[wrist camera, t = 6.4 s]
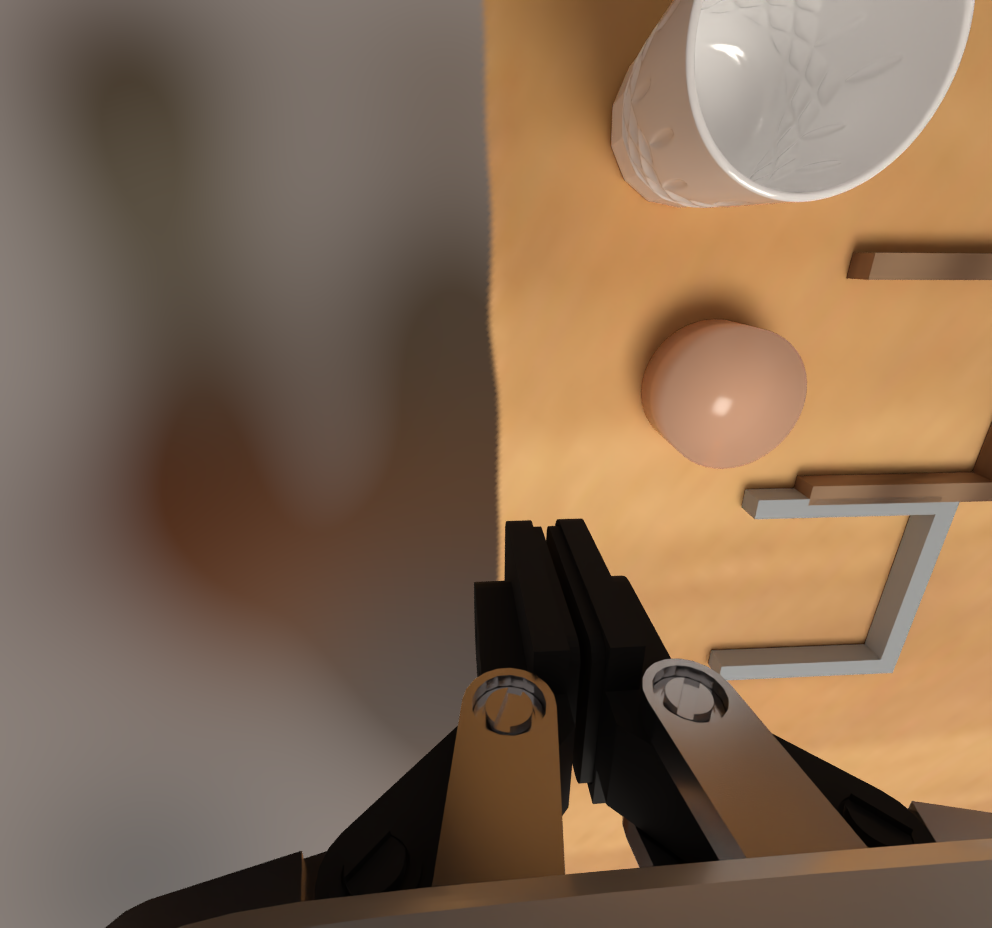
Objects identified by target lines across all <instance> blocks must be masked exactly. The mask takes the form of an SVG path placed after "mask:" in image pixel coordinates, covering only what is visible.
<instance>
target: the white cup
mask: <svg viewBox="0 0 992 928" xmlns="http://www.w3.org/2000/svg"><path fill="white" fill-rule="evenodd" d="M974 4H975V0H673V1H672V3H671V4H670V5H669V7H668V8H667V10H666V11H665V13H664V14H663V16H662V18H661V19H660V21H659V22H658V24H657V25H656V27H655V28H654V29H653V31H652V32H651V34H650V35H649V37H648V39H647V40H646V42H645V44H644V45H643V47H642V49H641V51H640V52H639V54H638V56H637V57H636V59H635V60H634V61H633V63H632V64H631V65H630V67H629V68H628V71H627V73H626V75H625V78H624V80H623V82H622V85H621V87H620V90H619V92H618V94H617V97H616V99H615V101H614V104H613V106H612V134H611V147H612V150H613V152H614V155H615V158H616V160H617V163H618V165H619V168H620V170H621V173H622V176H623V178H624V180H625V181H626V182H627V183H628V184H629V185H630V186H632V187H633V188H634V189H635V190H636V191H637V192H638V193H639V194H640V195H642V196H643V197H644V198H645V199H646V200H647V201H649V202H654V203H659V204H663V205H668V206H673V207H678V208H681V207H699V208H711V207H739V206H751V205H764V204H777V203H793V202H807V201H815V200H820V199H825V198H829V197H832V196H835V195H838V194H841V193H843V192H846V191H848V190H850V189H852V188H855V187H856V186H858V185H860V184H862V183H864V182H865V181H867V180H869V179H870V178H872V177H873V176H875V175H876V174H878V173H879V172H881V171H882V170H883V169H884V168H886V167H887V166H888V165H889V164H891V163H892V162H893V161H894V160H895V159H896V158H897V157H899V156H900V155H901V154H902V153H903V152H904V151H905V150H906V149H907V148H908V147H909V145H910V144H911V143H912V142H913V141H914V140H915V139H916V138H917V136H918V135H919V134H920V133H921V131H922V130H923V129H924V128H925V126H926V125H927V123H928V122H929V121H930V119H931V118H932V116H933V115H934V113H935V112H936V110H937V109H938V107H939V105H940V104H941V102H942V100H943V98H944V96H945V95H946V93H947V91H948V89H949V87H950V85H951V83H952V81H953V78H954V76H955V74H956V71H957V69H958V67H959V64H960V61H961V59H962V56H963V53H964V50H965V46H966V43H967V39H968V36H969V31H970V27H971V22H972V17H973V11H974Z"/></svg>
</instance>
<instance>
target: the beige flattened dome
mask: <svg viewBox="0 0 992 928" xmlns="http://www.w3.org/2000/svg"><path fill="white" fill-rule="evenodd" d="M806 393H807V377H806V371H805V367H804V364H803V361H802V359H801V357H800V355H799V353H798V352H797V350H796V349H795V348H794V347H793V346H792V344H791V343H790V342H788V341H787V340H786V339H785V338H783V337H781V336H780V335H778V334H776V333H774V332H771V331H768V330H765V329H761V328H757V327H753V326H749V325H745V324H741V323H737V322H733V321H729V320H724V319H708V320H702V321H698V322H695V323H692V324H689V325H687V326H685V327H683V328H681V329H679V330H678V331H676V332H675V333H673V334H672V335H671V336H670V337H668V338H667V339H666V340H665V341H664V342H663V343H662V344H661V345H660V346H659V348H658V349H657V350H656V352H655V353H654V354H653V356H652V358H651V359H650V361H649V363H648V365H647V368H646V370H645V373H644V377H643V381H642V389H641V398H642V405H643V409H644V412H645V415H646V417H647V419H648V421H649V423H650V424H651V425H652V427H653V428H654V429H655V430H656V431H657V432H658V433H659V434H660V435H661V436H662V437H663V438H665V439H666V440H667V441H668V442H669V443H670V444H671V445H672V446H673V447H674V448H675V449H677V450H678V451H679V452H680V453H681V454H682V455H683V456H684V457H686V458H687V459H689V460H690V461H692V462H694V463H696V464H698V465H701V466H705V467H709V468H718V469H725V468H734V467H739V466H742V465H746V464H749V463H751V462H753V461H756V460H758V459H759V458H761V457H763V456H765V455H766V454H768V453H769V452H770V451H772V450H773V449H774V448H776V447H777V446H778V445H779V444H780V443H781V442H782V441H783V440H784V439H785V438H786V437H787V435H788V434H789V433H790V431H791V430H792V429H793V427H794V426H795V424H796V422H797V420H798V419H799V416H800V414H801V412H802V409H803V406H804V403H805V398H806Z"/></svg>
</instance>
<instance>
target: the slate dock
mask: <svg viewBox="0 0 992 928" xmlns="http://www.w3.org/2000/svg"><path fill="white" fill-rule="evenodd" d="M926 497H927V498H926V499H928V496H926ZM930 497H931V496H930ZM939 497H940V496H939ZM944 497H945V496H944ZM884 498H886V497H884ZM889 498H890V497H889ZM897 498H898V497H897ZM907 498H908V497H907ZM922 498H923V499H924V497H922ZM933 498H934V497H933ZM845 499H846V498H845ZM853 499H854V498H853ZM853 499H852V498H851V500H852V501H853ZM857 499H858V498H855V500H856V501H855V503H856V502H857ZM861 499H862V498H861ZM867 499H868V498H867ZM871 499H872V498H871ZM880 499H882V498H880ZM890 499H891V498H890ZM893 499H894V500H895V498H894V497H893ZM893 499H892V501H893ZM908 499H909V498H908ZM911 499H912V498H911ZM914 499H915V498H914ZM923 499H922V500H923ZM936 499H937V498H936ZM809 500H810V499H809V498H807V497H806V496H804V495H803V494H802V493H800V492H799V491H797V490H796V489H795V488H776V489H745V493H744V498H743V503H742V508H743V509H744V510H745V511H746V512H747V513H749V514H750V515H751V516H752V517H753V518H754V519H780V518H818V517H857V516H895V515H910V518H909V521H908V523H907V526H906V529H905V532H904V535H903V537H902V540H901V543H900V546H899V549H898V551H897V554H896V557H895V560H894V563H893V566H892V568H891V571H890V574H889V577H888V580H887V582H886V585H885V588H884V591H883V594H882V596H881V599H880V602H879V605H878V608H877V611H876V613H875V616H874V619H873V622H872V625H871V627H870V630H869V633H868V636H867V639H866V642H865V644H852V645H828V646H804V647H780V648H756V649H732V650H711V654H710V659H709V666H710V667H711V669H712V670H714V671H715V672H717V673H718V674H720V675H721V676H722V677H723V678H724V679H725V680H743V679H765V678H787V677H809V676H831V675H854V674H876V673H893V670H894V668H895V665H896V663H897V660H898V658H899V655H900V652H901V650H902V647H903V645H904V642H905V640H906V637H907V635H908V632H909V629H910V627H911V624H912V622H913V619H914V617H915V614H916V612H917V609H918V607H919V604H920V601H921V599H922V596H923V594H924V591H925V589H926V586H927V584H928V581H929V579H930V576H931V573H932V571H933V568H934V566H935V563H936V561H937V558H938V556H939V553H940V551H941V548H942V545H943V543H944V540H945V538H946V535H947V533H948V530H949V528H950V525H951V522H952V520H953V517H954V515H955V512H956V510H957V507H958V505H959V502H942V501H941V502H940V501H939V502H938V501H937V500H936V501H937V502H932V501H931V503H926V502H925V503H922V502H920V503H919V502H917V503H913V502H912V503H910V501H911V500H910V501H909V500H908V501H909V503H908V502H907V501H906V500H905V501H906V502H907V503H905V501H903V502H904V503H902V502H900V503H892V502H891V501H890V500H889V502H891V504H886V502H885V503H884V504H880V503H881V502H882V501H881V502H880V503H879V504H874V503H876V502H874V500H873V501H872V502H874V503H872V502H871V503H872V504H864V503H863V504H854V503H853V502H852V503H853V504H850V505H848V504H847V505H844V503H843V505H837V503H836V505H834V504H833V503H832V504H833V505H809V506H808V504H809ZM825 500H826V499H825ZM828 500H829V499H828ZM836 500H837V499H836ZM847 500H849V499H848V498H847ZM851 500H850V501H851ZM864 500H865V499H864ZM868 500H869V499H868ZM868 500H867V501H866V500H865V501H866V502H868ZM878 500H879V499H878ZM878 500H877V499H876V500H875V501H878ZM886 500H887V499H886ZM898 500H899V499H898ZM901 500H903V499H901ZM916 500H918V501H919V499H917V498H916ZM815 501H816V500H815ZM822 501H823V500H822ZM822 501H821V502H822ZM859 501H860V499H859ZM869 501H871V500H869ZM879 501H880V500H879ZM895 501H896V500H895ZM899 501H900V500H899ZM925 501H927V500H925ZM928 501H930V500H929V499H928ZM945 501H946V500H945ZM823 502H824V501H823ZM826 502H827V500H826ZM833 502H834V500H833ZM837 502H839V501H838V500H837ZM840 502H842V501H841V500H840ZM843 502H844V501H843ZM847 502H848V501H847ZM866 502H865V503H866ZM883 502H884V501H883ZM889 502H888V501H887V503H889ZM897 502H898V501H897ZM915 502H916V501H915ZM817 503H818V501H817ZM824 503H825V502H824ZM824 503H822V504H824ZM845 503H846V502H845ZM848 503H849V502H848ZM857 503H858V502H857ZM868 503H869V502H868ZM877 503H878V502H877ZM810 504H811V503H810ZM826 504H827V503H826ZM840 504H841V503H840Z"/></svg>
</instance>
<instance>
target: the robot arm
mask: <svg viewBox="0 0 992 928" xmlns="http://www.w3.org/2000/svg"><path fill="white" fill-rule="evenodd" d="M474 609H475V611H474V613H475V644H476V661H477V678H476V679H474V680H473V682H472V683H471V684H470V685H469V686H468V688H467V689H466V691H465V694H464V697H463V699H462V704H461V710H460V716H459V722H458V726H457V727H456V728H455V729H454V730H453V731H451V732H450V733H449V734H448V735H447V736H446V737H445V738H444V739H443V740H442V741H441V742H440V743H438V744H437V745H436V746H435V747H434V748H433V749H432V750H431V751H430V752H429V753H428V754H427V755H426V756H424V757H423V758H422V759H421V760H420V761H419V762H418V763H417V764H416V765H415V766H414V767H413V768H411V769H410V770H409V771H408V772H407V773H406V774H405V775H404V776H403V777H402V778H401V779H399V781H397V783H395V784H394V785H393V786H392V787H391V788H390V789H389V790H388V791H387V792H385V793H384V794H383V795H382V796H381V797H380V798H379V799H378V800H377V801H376V802H375V803H374V804H373V805H371V806H370V807H369V808H368V809H367V810H366V811H365V812H364V813H363V814H362V815H361V816H360V817H358V818H357V819H356V820H355V821H354V822H353V823H352V824H351V825H350V826H349V827H348V828H347V829H345V830H344V831H343V832H342V833H341V834H340V836H339V837H338V838H337V839H336V840H335V842H334V843H333V844H332V845H331V846H330V847H329V849H328V851H326V852H323V853H320V854H317V855H313V856H310V857H307V858H303V853H302V851H299V852H296V853H293V854H290V855H287V856H283V857H280V858H277V859H274V860H271V861H268V862H265V863H262V864H259V865H255V866H252V867H250V868H246V869H243V870H240V871H237V872H234V873H231V874H227V875H224V876H221V877H218V878H215V879H212V880H209V881H205V882H202V883H199V884H196V885H193V886H190V887H187V888H184V889H181V890H177V891H175V892H171V893H168V894H165V895H162V896H159V897H156V898H152V899H150V900H147V901H145V902H143V903H141V904H139V905H137V906H135V907H133V908H131V909H129V910H127V911H125V912H124V913H122V914H121V915H120V916H119V917H117V918H116V919H115V920H114V921H113V922H111V923H110V924H109V925H108V926H106V928H992V813H989V812H982V811H976V810H969V809H962V808H955V807H949V806H942V805H935V804H929V803H922V802H915V801H912V802H911V804H910V806H909V808H908V809H907V808H906V807H905V806H904V805H902V804H901V803H900V802H899V801H897V800H895V799H894V798H892V797H891V796H889V795H887V794H886V793H884V792H883V791H881V790H879V789H877V788H876V787H874V786H872V785H870V784H868V783H866V782H864V781H862V780H860V779H858V778H856V777H854V776H853V775H851V774H849V773H847V772H845V771H843V770H841V769H839V768H837V767H835V766H833V765H831V764H830V763H828V762H826V761H824V760H822V759H820V758H818V757H816V756H814V755H812V754H810V753H808V752H806V751H805V750H803V749H801V748H799V747H797V746H795V745H793V744H791V743H789V742H787V741H785V740H783V739H782V738H780V737H778V736H776V735H774V734H772V733H771V732H770V731H769V730H768V728H767V727H766V726H765V725H764V724H763V723H762V721H761V720H760V719H759V718H758V717H757V715H756V714H755V713H754V712H753V711H752V709H751V708H750V707H749V706H748V705H747V704H746V702H745V701H744V700H743V699H742V698H741V696H740V695H739V694H738V693H737V692H736V691H735V689H734V688H733V687H732V686H731V685H730V684H729V683H728V682H727V681H726V680H725V679H724V678H723V677H722V676H721V675H720V674H718V673H717V672H715V671H714V670H712V669H710V668H709V667H707V666H705V665H702V664H699V663H697V662H694V661H690V660H684V659H671V658H670V656H669V654H668V652H667V650H666V648H665V647H664V645H663V643H662V641H661V639H660V637H659V636H658V634H657V632H656V630H655V628H654V626H653V624H652V623H651V621H650V619H649V617H648V615H647V613H646V612H645V610H644V608H643V606H642V604H641V602H640V600H639V599H638V597H637V595H636V593H635V591H634V589H633V588H632V586H631V584H630V582H629V580H628V579H627V578H626V577H625V576H611V575H610V573H609V571H608V569H607V567H606V565H605V562H604V560H603V558H602V556H601V554H600V552H599V550H598V548H597V546H596V544H595V542H594V540H593V538H592V536H591V534H590V532H589V530H588V528H587V526H586V524H585V522H584V520H583V519H557V521H556V524H555V526H548V527H547V537H546V540H545V536H544V533H543V530H542V528H541V527H533V524H532V521H531V520H527V521H506V526H505V581H490V582H489V581H488V582H474ZM572 764H573V768H574V772H575V776H576V780H577V782H578V783H587V784H588V788H589V792H590V795H591V799H592V803H593V804H598V803H606V804H607V805H608V806H609V807H611V808H612V809H613V810H615V811H616V812H618V813H619V814H620V815H622V816H623V820H622V824H623V828H624V831H625V835H626V838H627V840H628V842H629V845H630V847H631V849H632V851H633V854H634V856H635V858H636V860H637V863H638V865H639V867H640V868H632V869H621V870H610V871H598V872H588V873H577V874H567V875H565V863H564V843H563V823H562V815H563V814H564V813H565V811H566V810H567V808H568V805H569V794H570V782H571V771H572Z"/></svg>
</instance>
